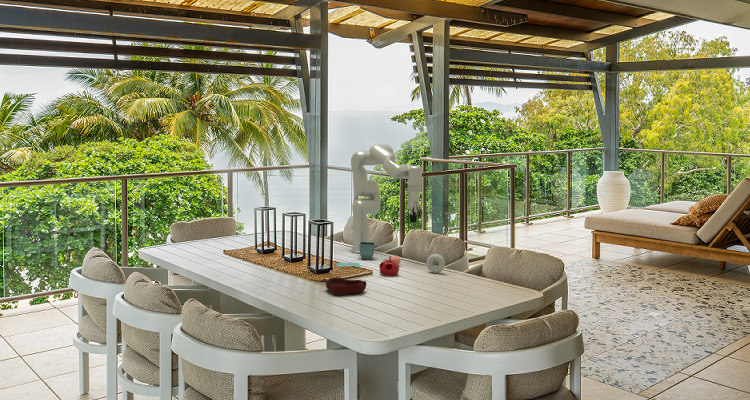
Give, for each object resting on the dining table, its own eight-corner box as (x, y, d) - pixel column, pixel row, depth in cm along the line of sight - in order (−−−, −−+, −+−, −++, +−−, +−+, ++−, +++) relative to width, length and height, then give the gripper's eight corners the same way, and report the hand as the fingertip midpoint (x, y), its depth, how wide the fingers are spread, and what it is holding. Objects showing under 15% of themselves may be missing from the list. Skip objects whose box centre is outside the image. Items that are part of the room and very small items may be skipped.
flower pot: (374, 260, 369) (375, 244, 368) (358, 260, 369) (359, 244, 368) (374, 257, 378) (375, 242, 377) (359, 257, 378) (359, 241, 377)
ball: (389, 264, 359) (389, 254, 358) (399, 264, 360) (399, 254, 359) (390, 266, 354) (391, 256, 353) (401, 266, 354) (401, 256, 354)
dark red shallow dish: (316, 294, 288) (317, 283, 288) (332, 287, 303) (332, 276, 303) (354, 299, 282) (354, 288, 281) (368, 291, 297) (369, 280, 297)
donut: (445, 273, 341) (446, 254, 340) (443, 274, 338) (444, 255, 337) (426, 271, 345) (427, 252, 344) (425, 272, 342) (425, 253, 341)
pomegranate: (388, 272, 340) (389, 254, 339) (402, 275, 333) (403, 257, 332) (374, 274, 333) (375, 256, 332) (388, 277, 326) (389, 258, 325)
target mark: (336, 263, 358) (336, 262, 358) (358, 263, 360) (358, 262, 360) (338, 267, 346) (338, 267, 346) (361, 267, 348) (361, 267, 348)
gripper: (405, 187, 367) (403, 220, 368) (410, 189, 352) (408, 224, 354) (418, 187, 368) (417, 220, 369) (424, 189, 353) (422, 224, 355)
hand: (413, 222), depth 361 cm, fingers closed
